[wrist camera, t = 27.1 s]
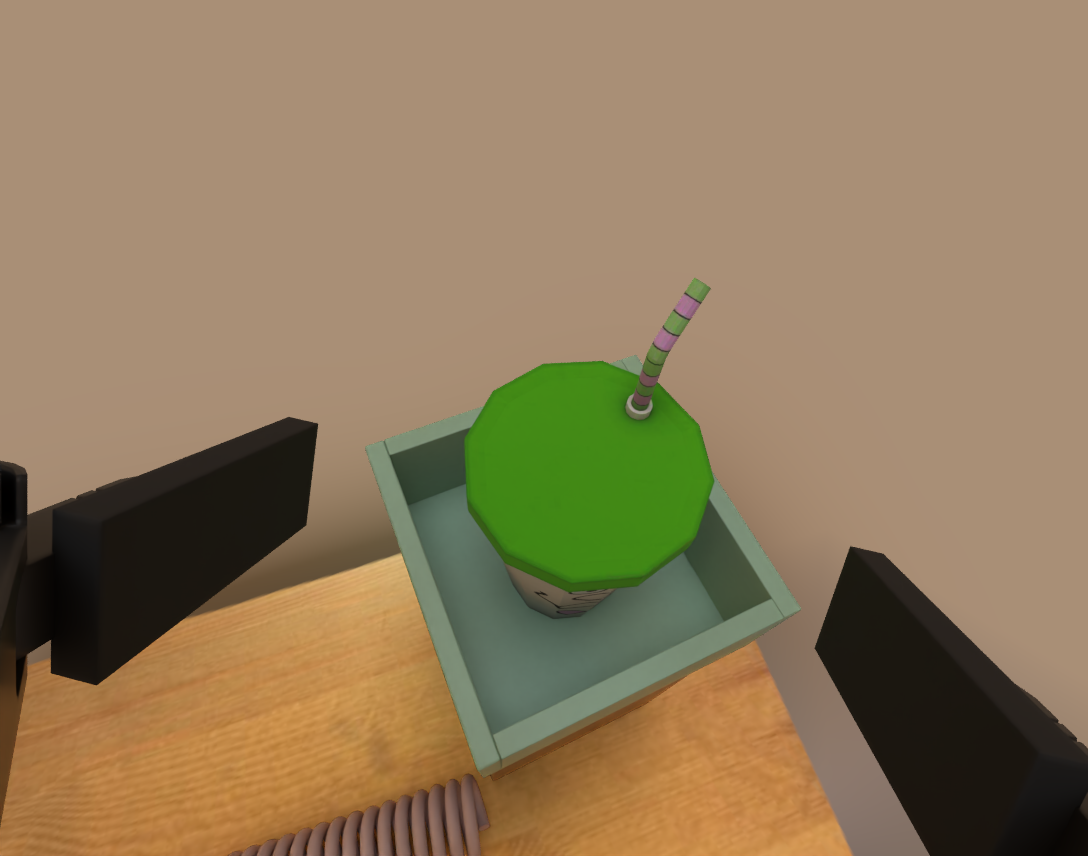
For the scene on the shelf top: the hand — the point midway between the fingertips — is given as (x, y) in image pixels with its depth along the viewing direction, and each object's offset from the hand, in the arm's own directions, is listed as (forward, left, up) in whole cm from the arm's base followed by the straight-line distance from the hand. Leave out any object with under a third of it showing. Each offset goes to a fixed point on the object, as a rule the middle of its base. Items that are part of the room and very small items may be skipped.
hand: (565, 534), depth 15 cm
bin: (+2, +3, -14) cm, 14 cm away
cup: (+2, +3, -13) cm, 14 cm away
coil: (-14, -3, -34) cm, 37 cm away
